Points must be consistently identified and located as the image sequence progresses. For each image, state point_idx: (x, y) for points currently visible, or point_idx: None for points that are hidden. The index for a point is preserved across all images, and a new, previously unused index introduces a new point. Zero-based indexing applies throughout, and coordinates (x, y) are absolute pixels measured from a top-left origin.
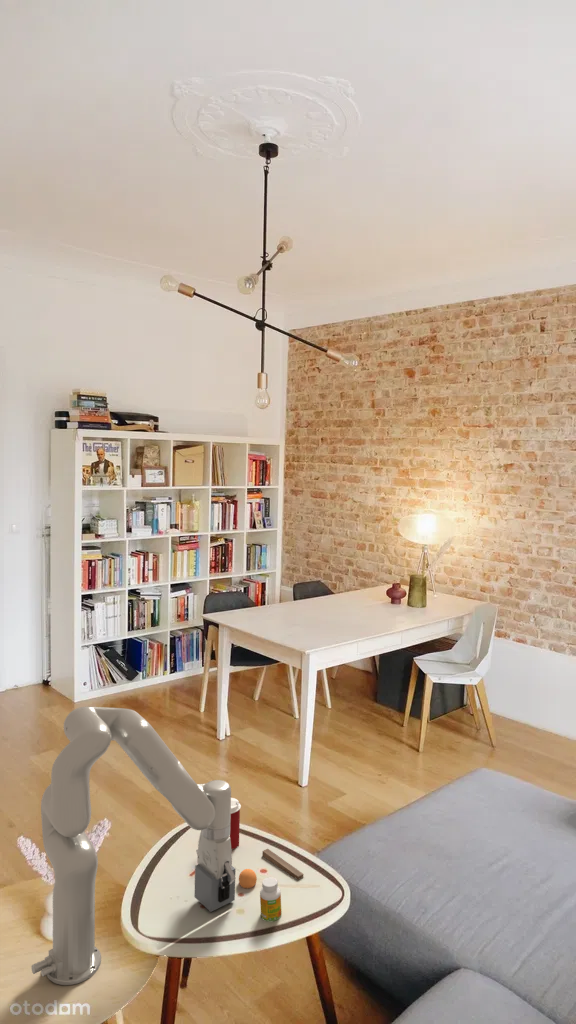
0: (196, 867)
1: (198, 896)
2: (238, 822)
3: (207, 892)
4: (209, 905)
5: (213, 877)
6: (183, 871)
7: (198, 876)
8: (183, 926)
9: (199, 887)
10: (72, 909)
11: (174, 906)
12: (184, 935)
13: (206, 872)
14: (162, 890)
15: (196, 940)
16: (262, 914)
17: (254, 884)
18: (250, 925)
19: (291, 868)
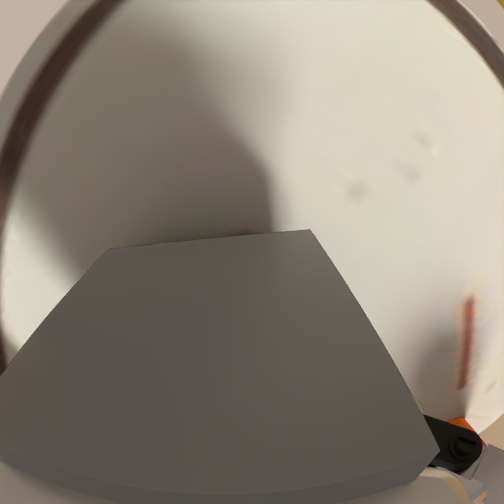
0: (393, 454)
1: (259, 245)
2: None
3: (102, 309)
4: (109, 262)
5: (5, 460)
6: (497, 284)
7: (294, 366)
8: (154, 71)
9: (249, 288)
10: None
11: (355, 110)
12: (91, 57)
13: (119, 498)
14: (481, 146)
15: (31, 104)
16: None
17: None
18: (23, 342)
19: None
